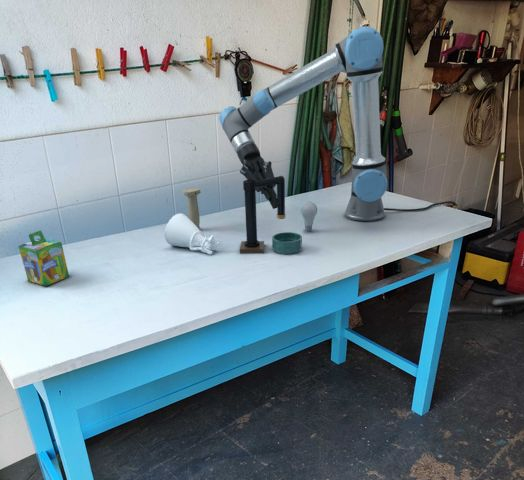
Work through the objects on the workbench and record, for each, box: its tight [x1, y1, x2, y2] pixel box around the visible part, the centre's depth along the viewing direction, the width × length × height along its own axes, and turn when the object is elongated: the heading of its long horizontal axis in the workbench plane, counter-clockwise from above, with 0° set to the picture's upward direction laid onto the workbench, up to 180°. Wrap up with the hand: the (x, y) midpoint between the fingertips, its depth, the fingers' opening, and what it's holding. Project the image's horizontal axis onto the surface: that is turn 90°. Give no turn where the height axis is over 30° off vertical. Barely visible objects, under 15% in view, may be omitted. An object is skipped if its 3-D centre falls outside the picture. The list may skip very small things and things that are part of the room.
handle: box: [182, 187, 201, 230], centre depth 196 cm, size 5×6×15 cm
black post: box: [239, 190, 265, 254], centre depth 175 cm, size 8×8×20 cm
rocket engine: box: [164, 212, 221, 256], centre depth 179 cm, size 12×12×18 cm
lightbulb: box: [300, 201, 318, 232], centre depth 192 cm, size 6×6×11 cm
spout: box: [242, 175, 286, 220], centre depth 174 cm, size 16×4×14 cm, turn 122°
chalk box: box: [17, 230, 70, 287], centre depth 158 cm, size 9×9×15 cm
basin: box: [271, 231, 303, 255], centre depth 177 cm, size 10×10×4 cm
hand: (276, 206), depth 181 cm, fingers closed
